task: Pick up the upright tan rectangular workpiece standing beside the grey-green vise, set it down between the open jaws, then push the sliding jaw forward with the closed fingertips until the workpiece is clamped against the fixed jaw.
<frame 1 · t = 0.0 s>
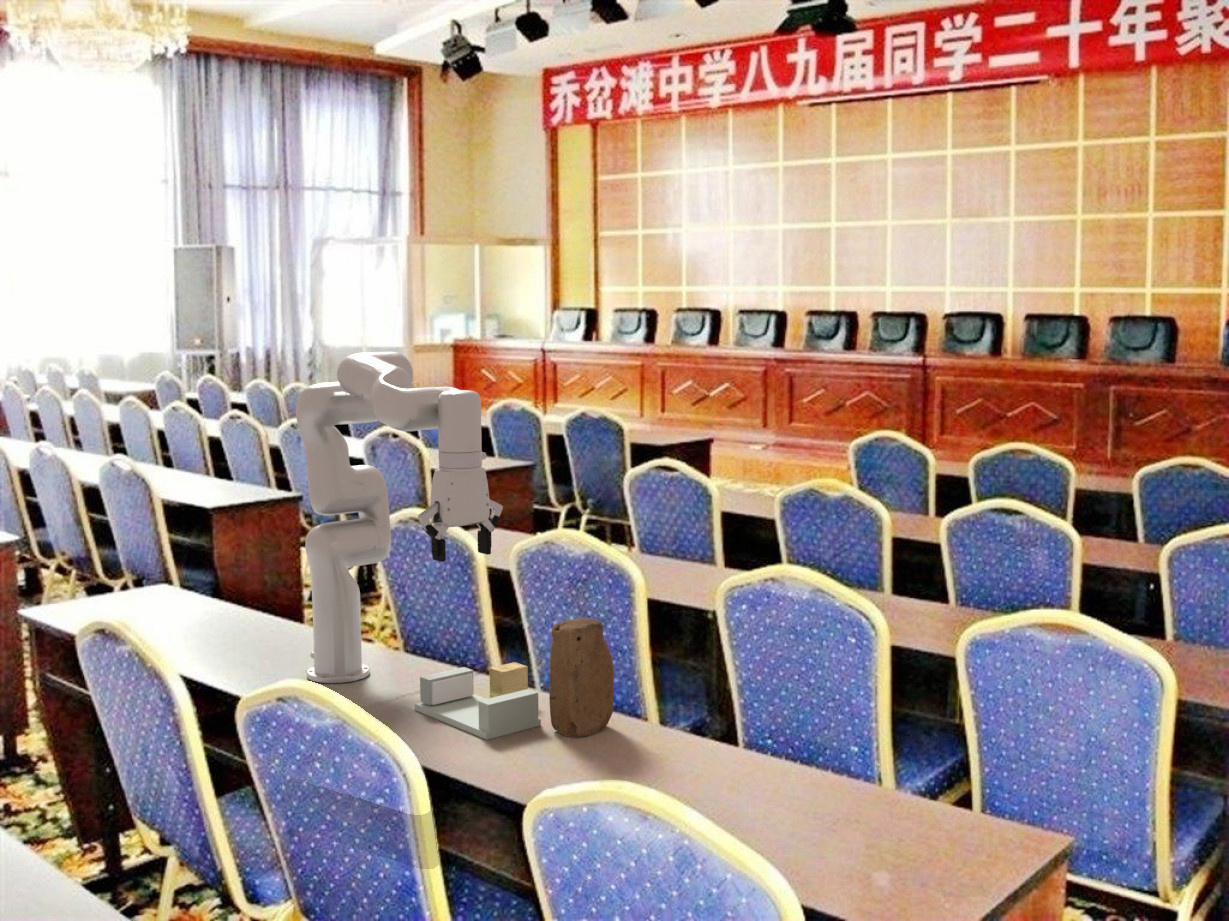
hand: (462, 556, 245), 31 cm above the table, fingers open, 9 cm apart
block: (582, 731, 247), on the table
tan rectangular workpiece: (508, 702, 264), on the table
sliding jaw: (447, 686, 261), point 4 cm above the table, slide at 0.0 cm
vise body: (476, 717, 255), on the table
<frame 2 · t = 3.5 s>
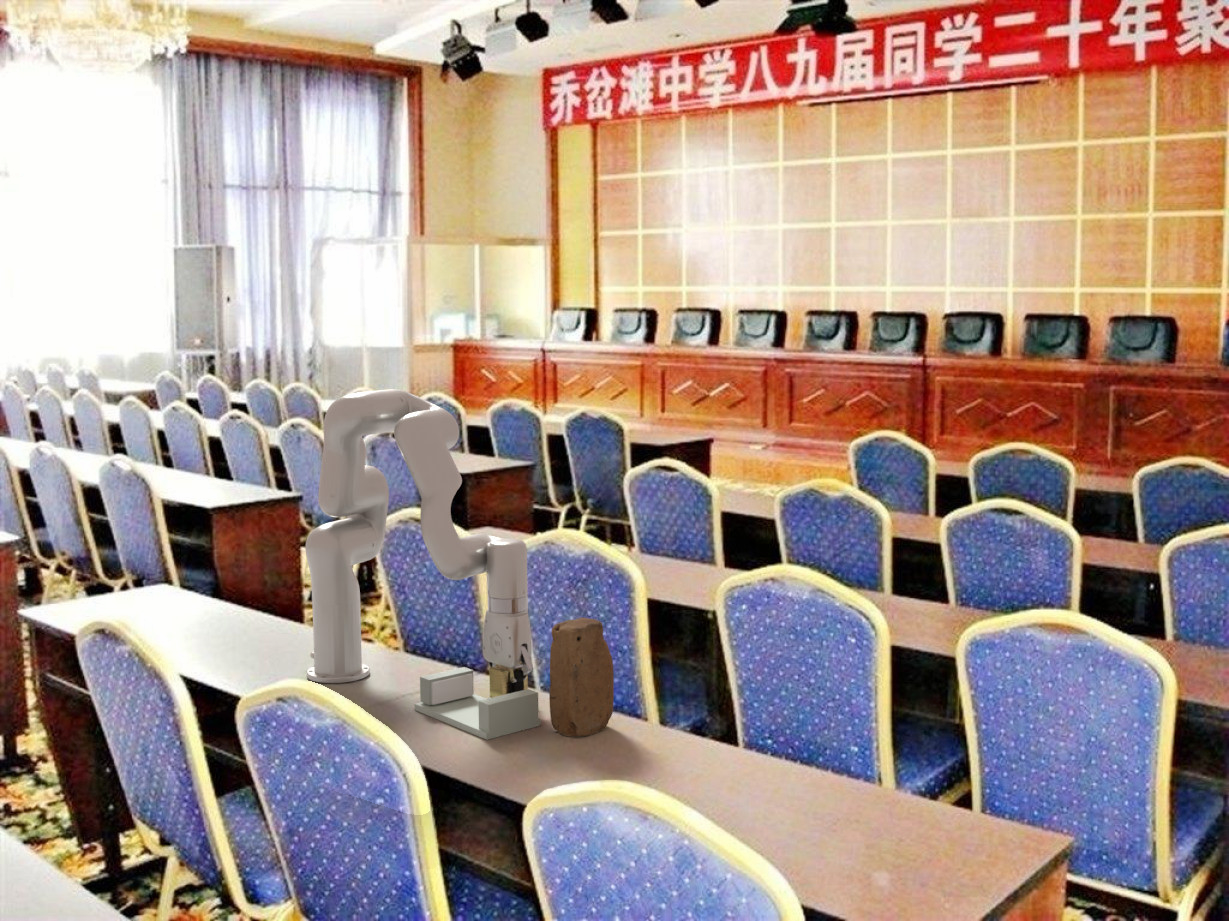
hand: (508, 697, 264), 1 cm above the table, fingers closed on tan rectangular workpiece, 4 cm apart
tan rectangular workpiece: (508, 702, 264), on the table, touching gripper
everything else where it was.
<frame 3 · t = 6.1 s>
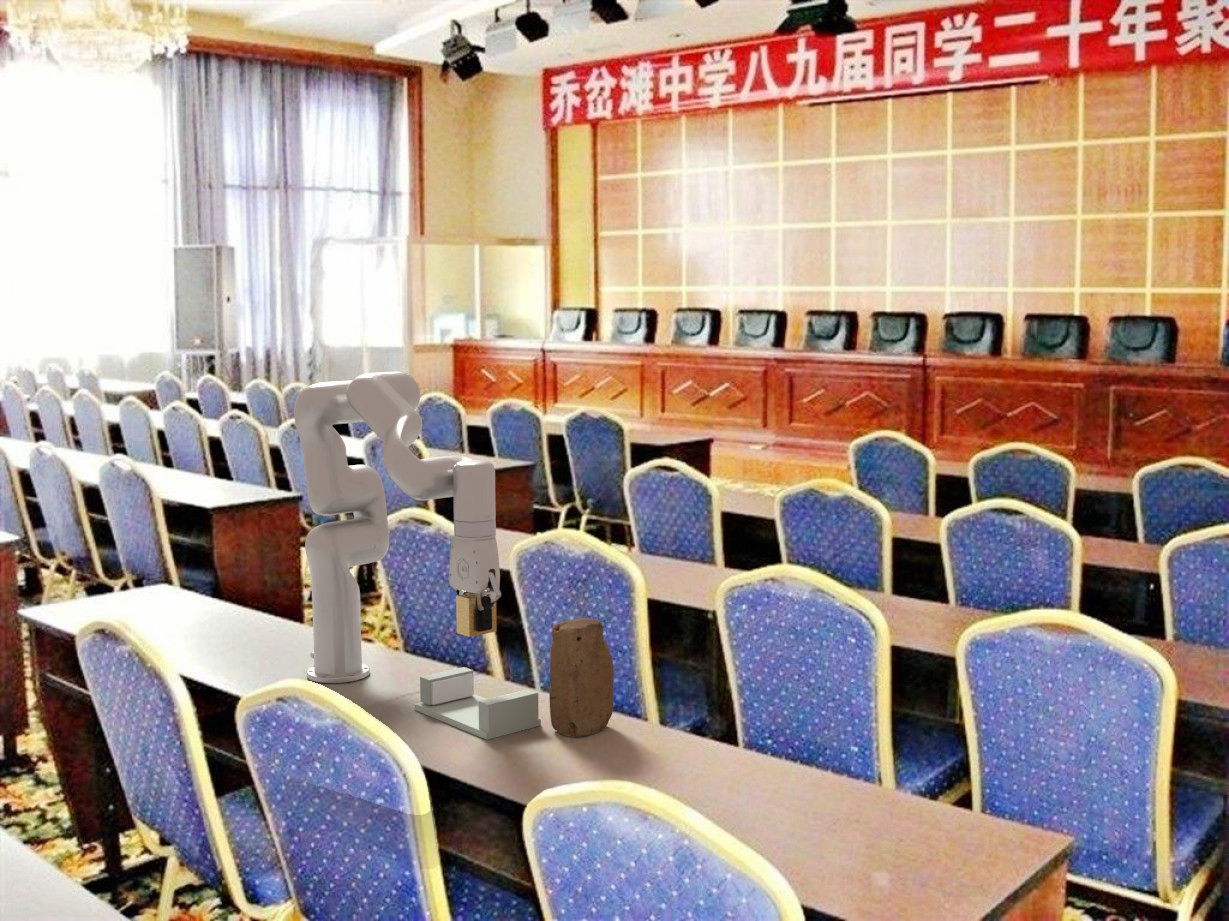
hand: (476, 626, 252), 17 cm above the table, fingers closed on tan rectangular workpiece, 4 cm apart
tan rectangular workpiece: (476, 632, 252), point 16 cm above the table, touching gripper
everything else where it was.
when the fingers open (4 cm above the table, at t = 8.7 s): tan rectangular workpiece drops 1 cm, resting on vise body.
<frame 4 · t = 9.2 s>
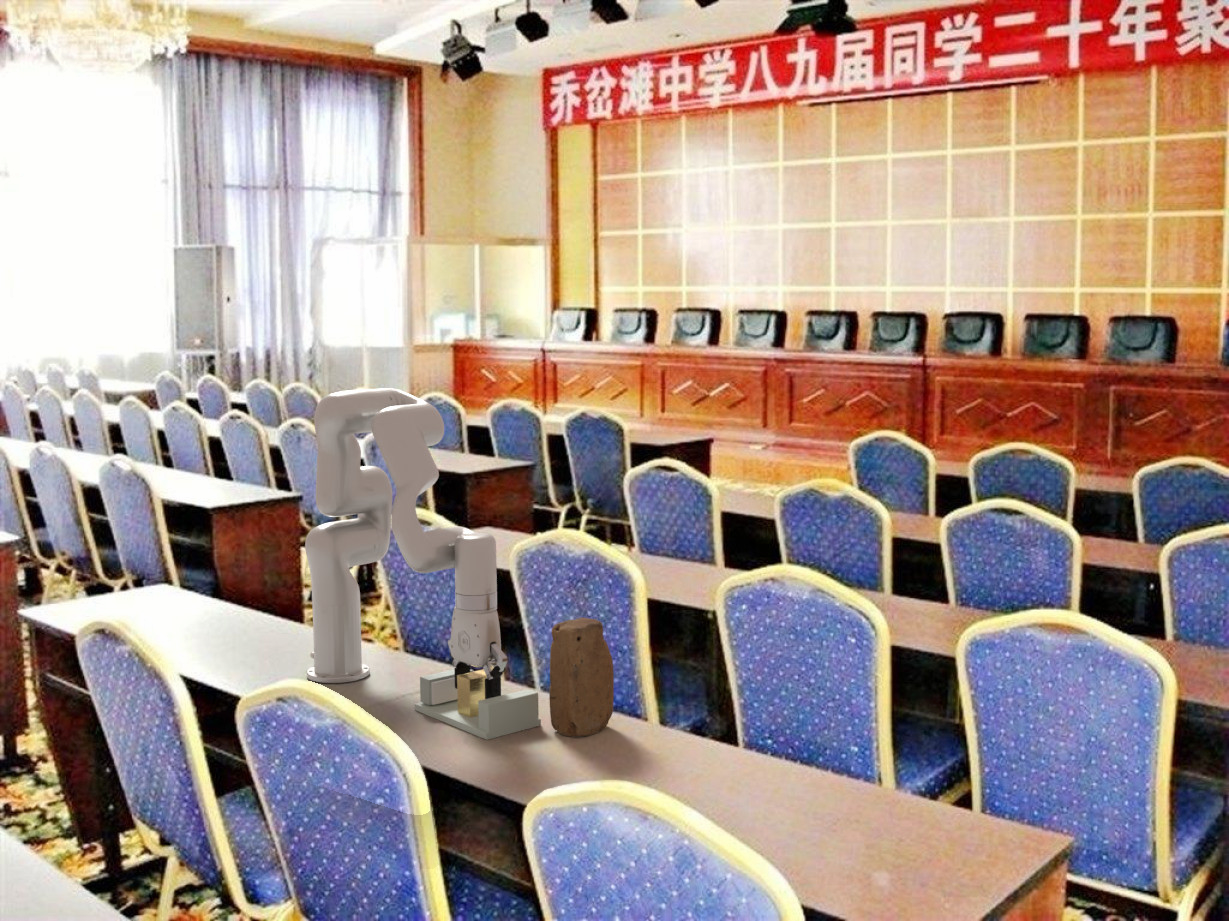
hand: (477, 693, 254), 5 cm above the table, fingers open, 9 cm apart
tan rectangular workpiece: (477, 711, 254), point 1 cm above the table, touching vise body
everything else where it was.
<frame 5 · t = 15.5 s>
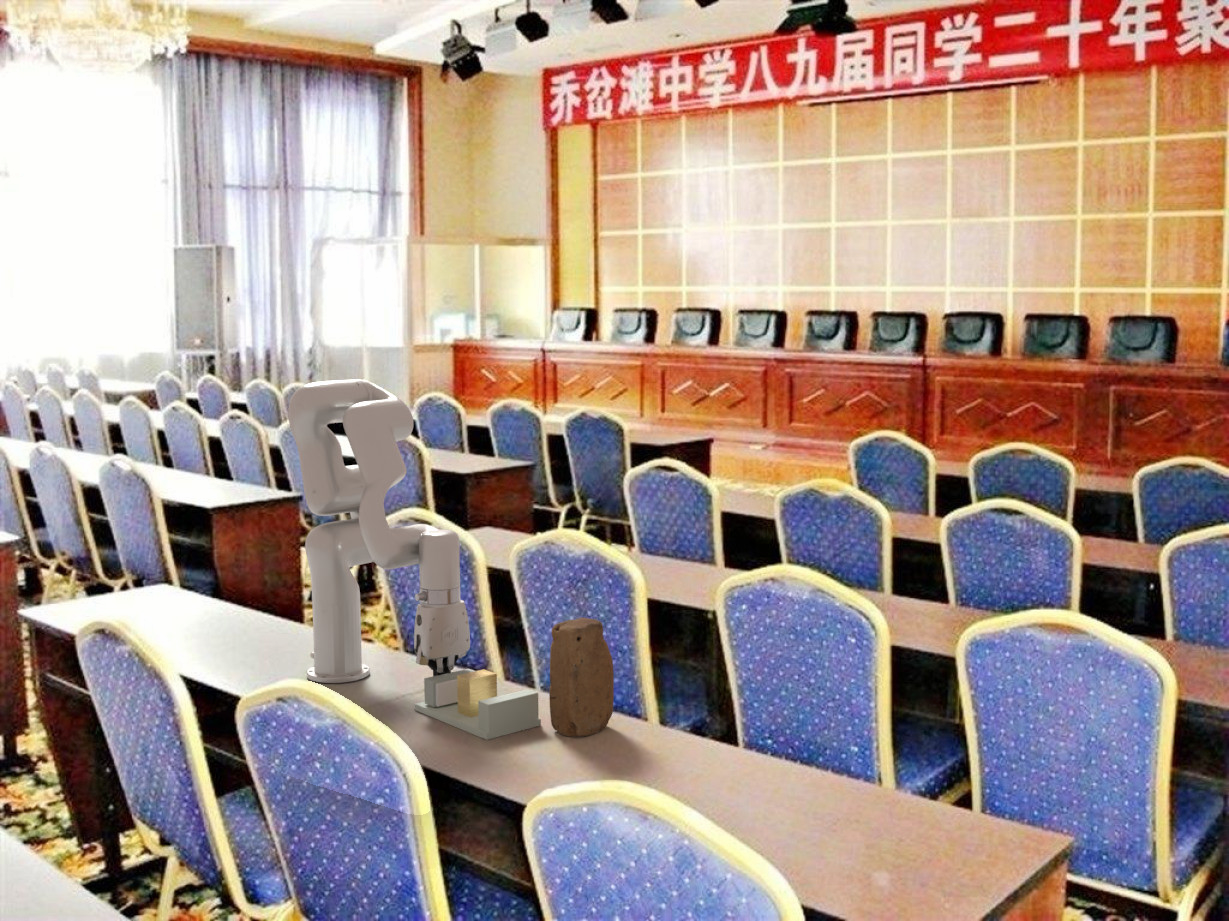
hand: (442, 690, 263), 3 cm above the table, fingers closed
sliding jaw: (452, 687, 260), point 4 cm above the table, slide at 1.4 cm, touching gripper
everything else where it was.
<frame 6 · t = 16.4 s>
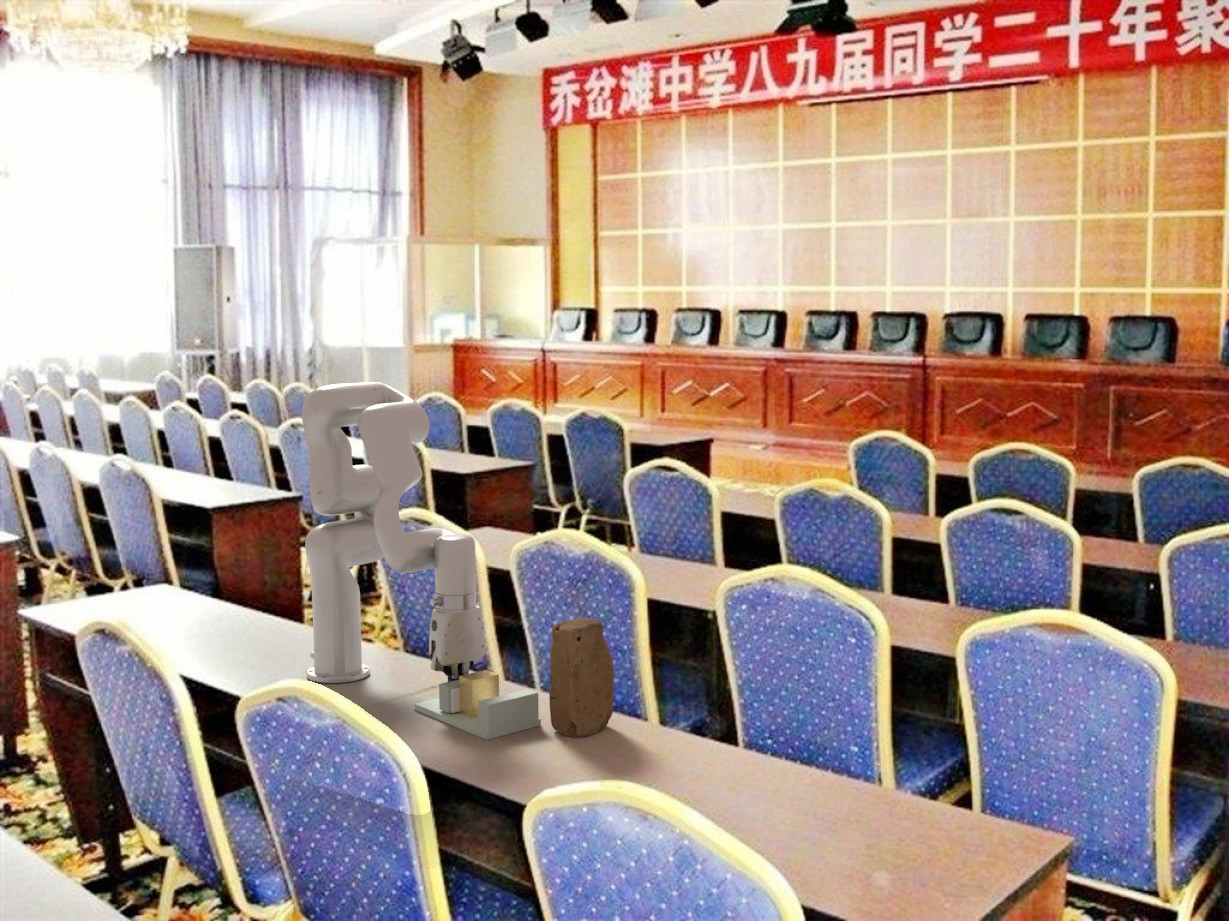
hand: (457, 696, 259), 3 cm above the table, fingers closed
tan rectangular workpiece: (479, 712, 254), point 1 cm above the table, touching sliding jaw
sliding jaw: (467, 693, 256), point 4 cm above the table, slide at 6.4 cm, touching tan rectangular workpiece, gripper
everything else where it was.
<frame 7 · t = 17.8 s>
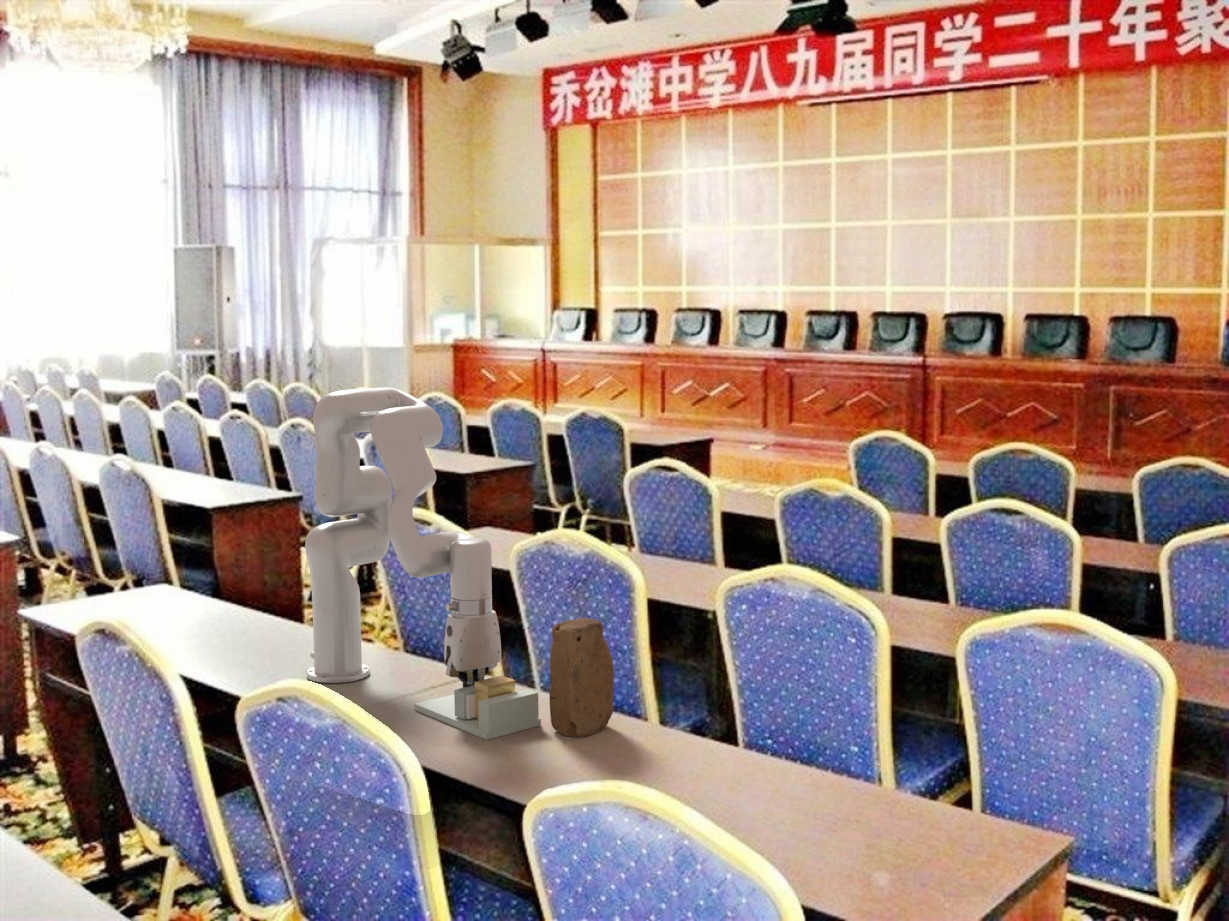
hand: (472, 702, 256), 2 cm above the table, fingers closed
tan rectangular workpiece: (495, 718, 250), point 1 cm above the table, touching sliding jaw, vise body
sliding jaw: (482, 699, 253), point 4 cm above the table, slide at 11.3 cm, touching tan rectangular workpiece, gripper
everything else where it was.
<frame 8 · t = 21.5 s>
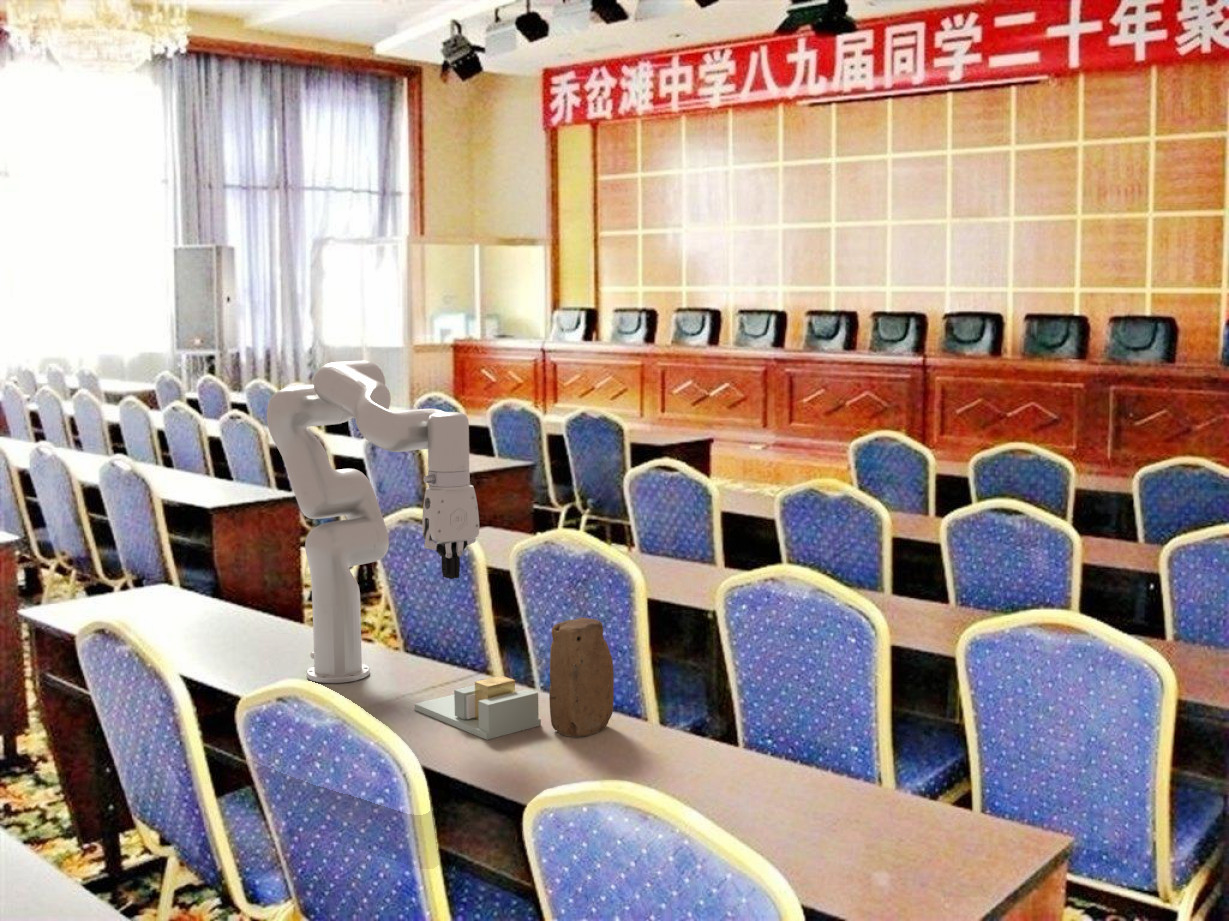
hand: (450, 577, 257), 25 cm above the table, fingers closed
sliding jaw: (482, 699, 253), point 4 cm above the table, slide at 11.3 cm, touching tan rectangular workpiece
everything else where it was.
at the end: sliding jaw slide at 11.3 cm; tan rectangular workpiece 0.1 cm from the target spot, point 1.2 cm above the table; tan rectangular workpiece tilted 0° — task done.
